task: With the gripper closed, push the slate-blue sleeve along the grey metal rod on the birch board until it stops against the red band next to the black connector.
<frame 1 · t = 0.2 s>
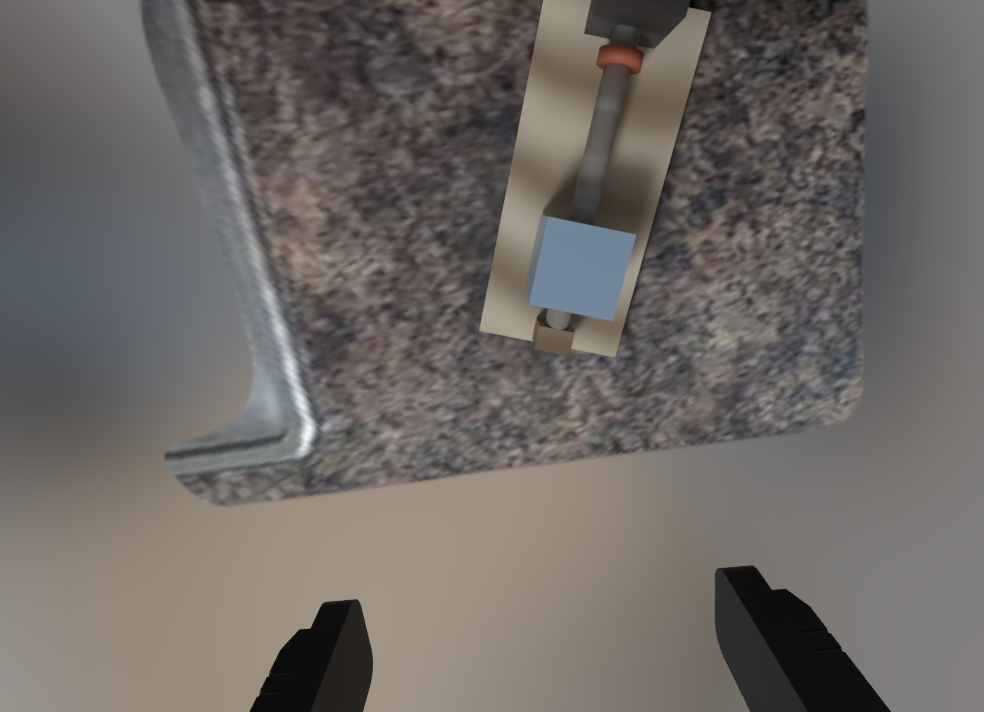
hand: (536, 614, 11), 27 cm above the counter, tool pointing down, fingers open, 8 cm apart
rail board: (581, 186, 35), on the counter
blue sleeve: (574, 264, 31), point 5 cm above the counter, slide at 0.0 cm
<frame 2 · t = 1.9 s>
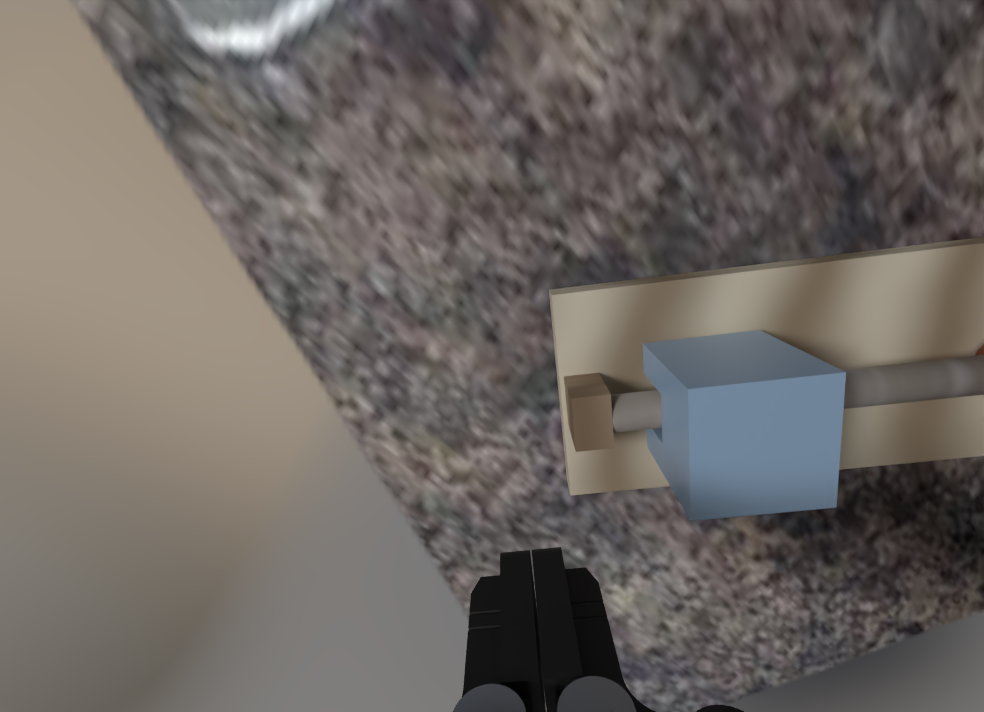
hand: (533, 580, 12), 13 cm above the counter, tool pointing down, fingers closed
rail board: (787, 365, 24), on the counter
blue sleeve: (728, 416, 20), point 5 cm above the counter, slide at 0.0 cm
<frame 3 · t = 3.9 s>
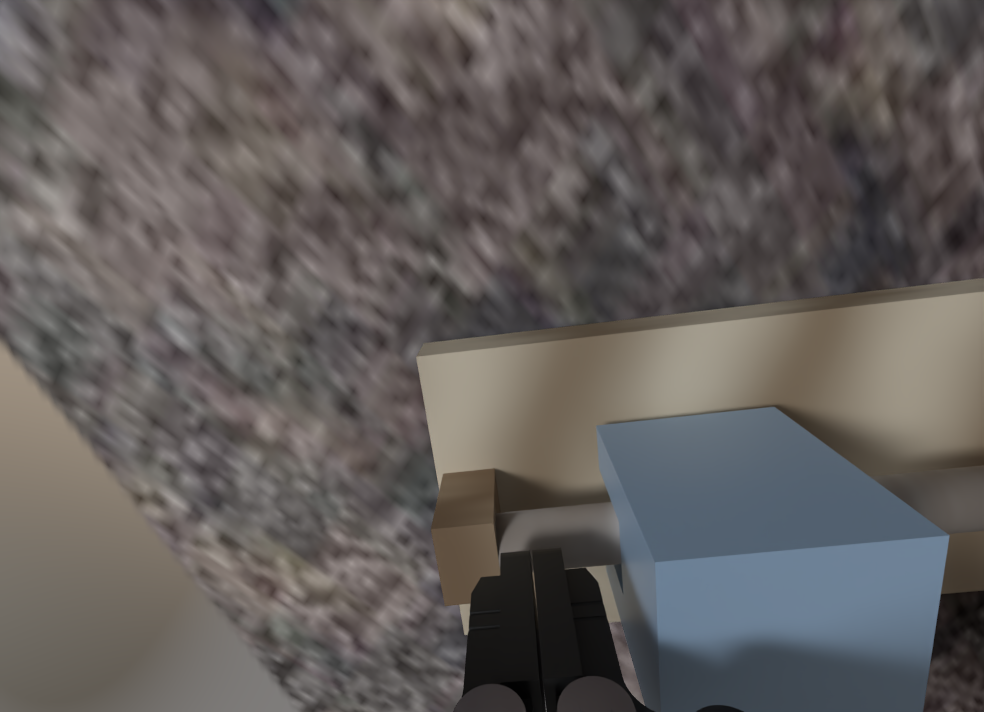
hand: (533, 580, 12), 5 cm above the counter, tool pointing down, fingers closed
rail board: (774, 449, 17), on the counter
blue sleeve: (727, 558, 12), point 5 cm above the counter, slide at 1.2 cm, touching gripper
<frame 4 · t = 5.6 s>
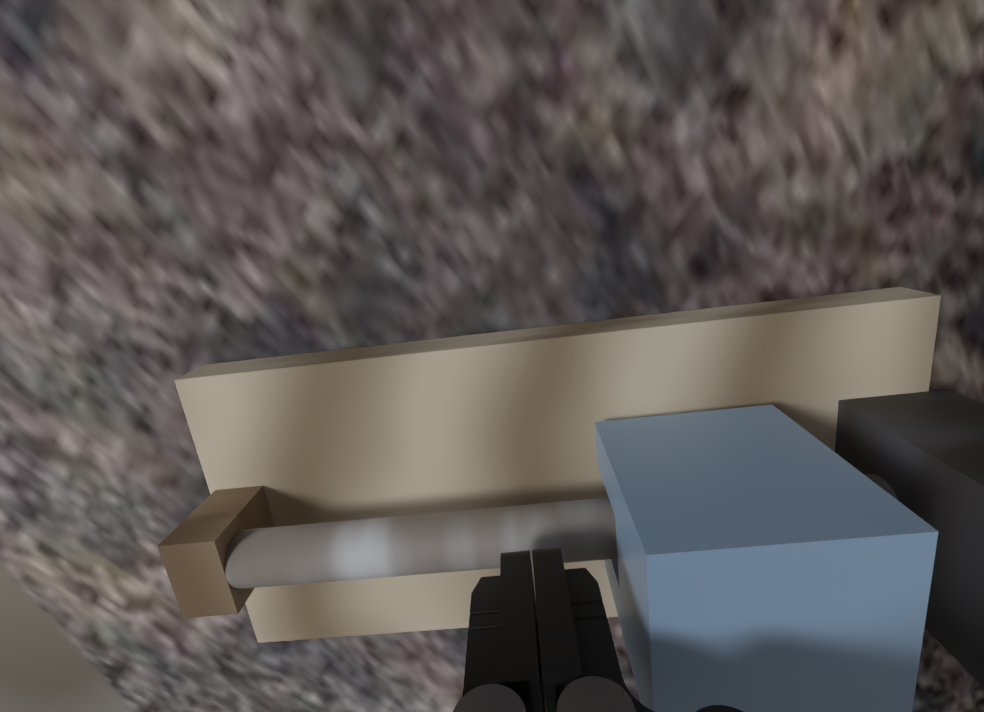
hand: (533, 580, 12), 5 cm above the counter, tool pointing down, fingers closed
rail board: (549, 468, 17), on the counter
blue sleeve: (722, 553, 12), point 5 cm above the counter, slide at 8.7 cm, touching gripper
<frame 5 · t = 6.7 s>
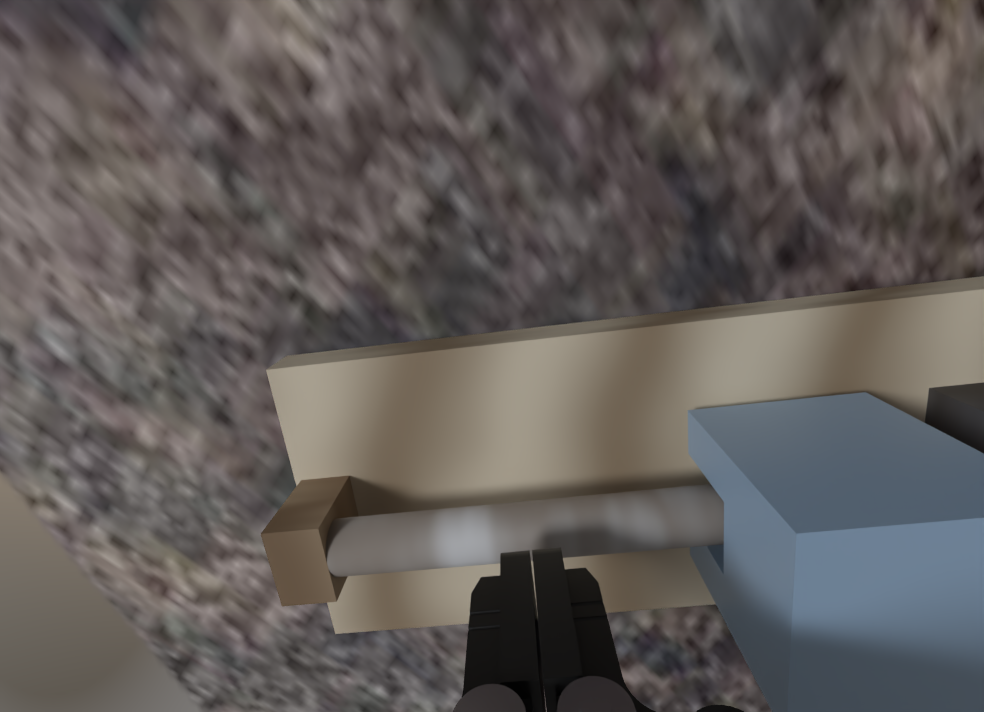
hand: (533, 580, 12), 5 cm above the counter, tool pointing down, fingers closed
rail board: (629, 458, 17), on the counter
blue sleeve: (831, 538, 13), point 5 cm above the counter, slide at 8.7 cm
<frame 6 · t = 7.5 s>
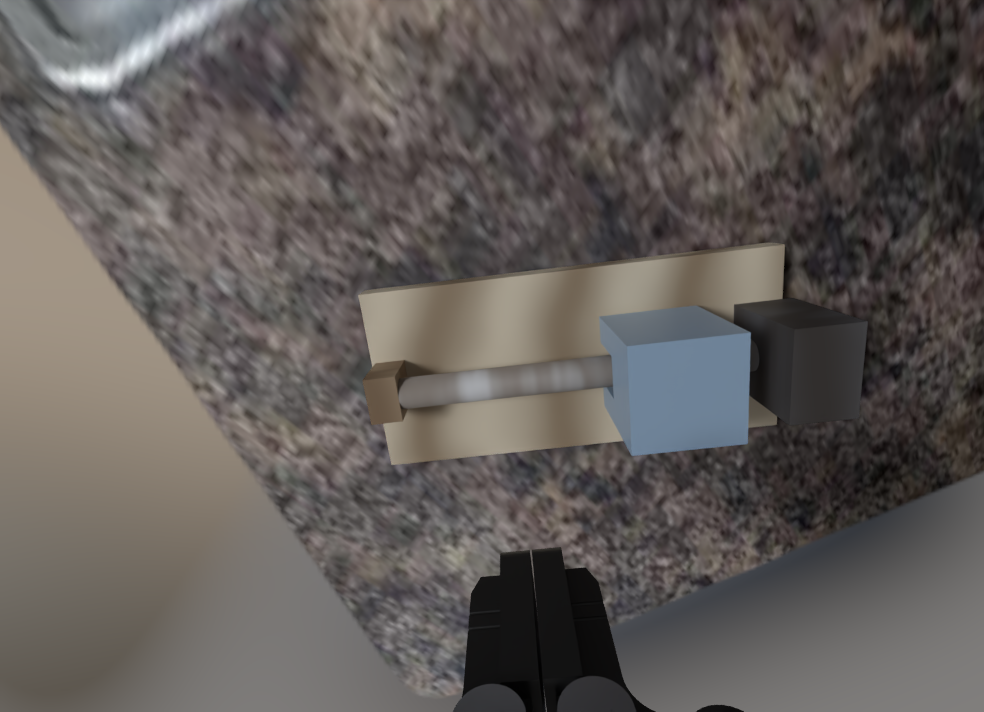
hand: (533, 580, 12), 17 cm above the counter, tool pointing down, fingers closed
rail board: (571, 354, 29), on the counter
blue sleeve: (666, 374, 24), point 5 cm above the counter, slide at 8.7 cm
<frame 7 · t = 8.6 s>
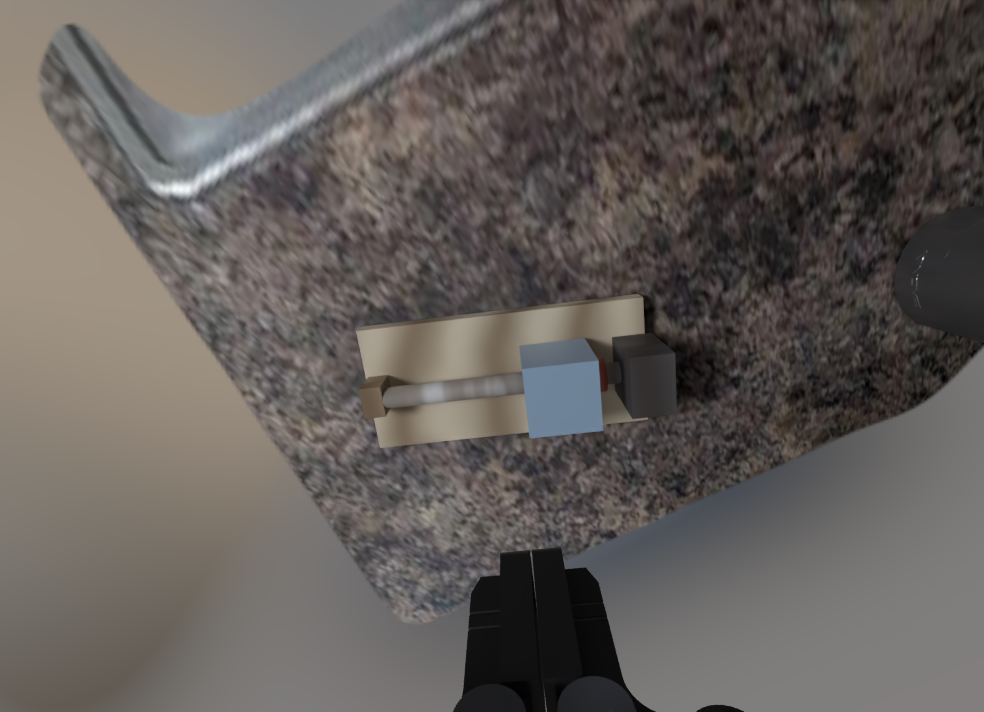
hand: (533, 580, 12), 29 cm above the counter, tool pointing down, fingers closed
rail board: (505, 370, 41), on the counter
blue sleeve: (558, 385, 36), point 5 cm above the counter, slide at 8.7 cm
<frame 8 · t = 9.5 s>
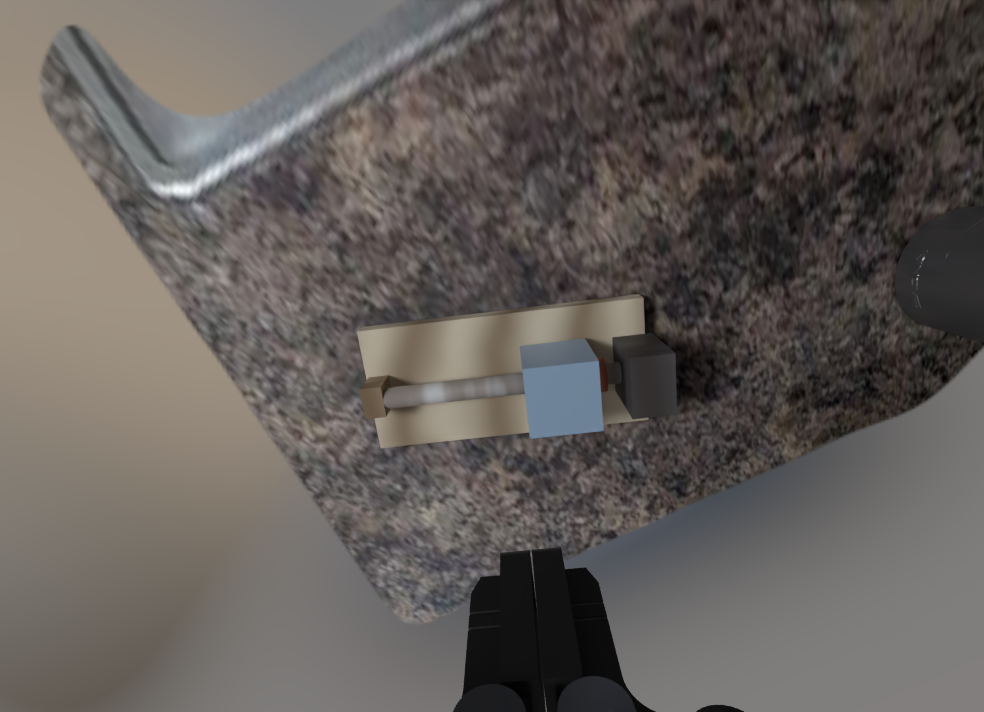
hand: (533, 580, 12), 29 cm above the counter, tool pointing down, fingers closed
rail board: (505, 370, 41), on the counter
blue sleeve: (558, 385, 36), point 5 cm above the counter, slide at 8.7 cm
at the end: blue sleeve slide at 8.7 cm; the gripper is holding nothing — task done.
